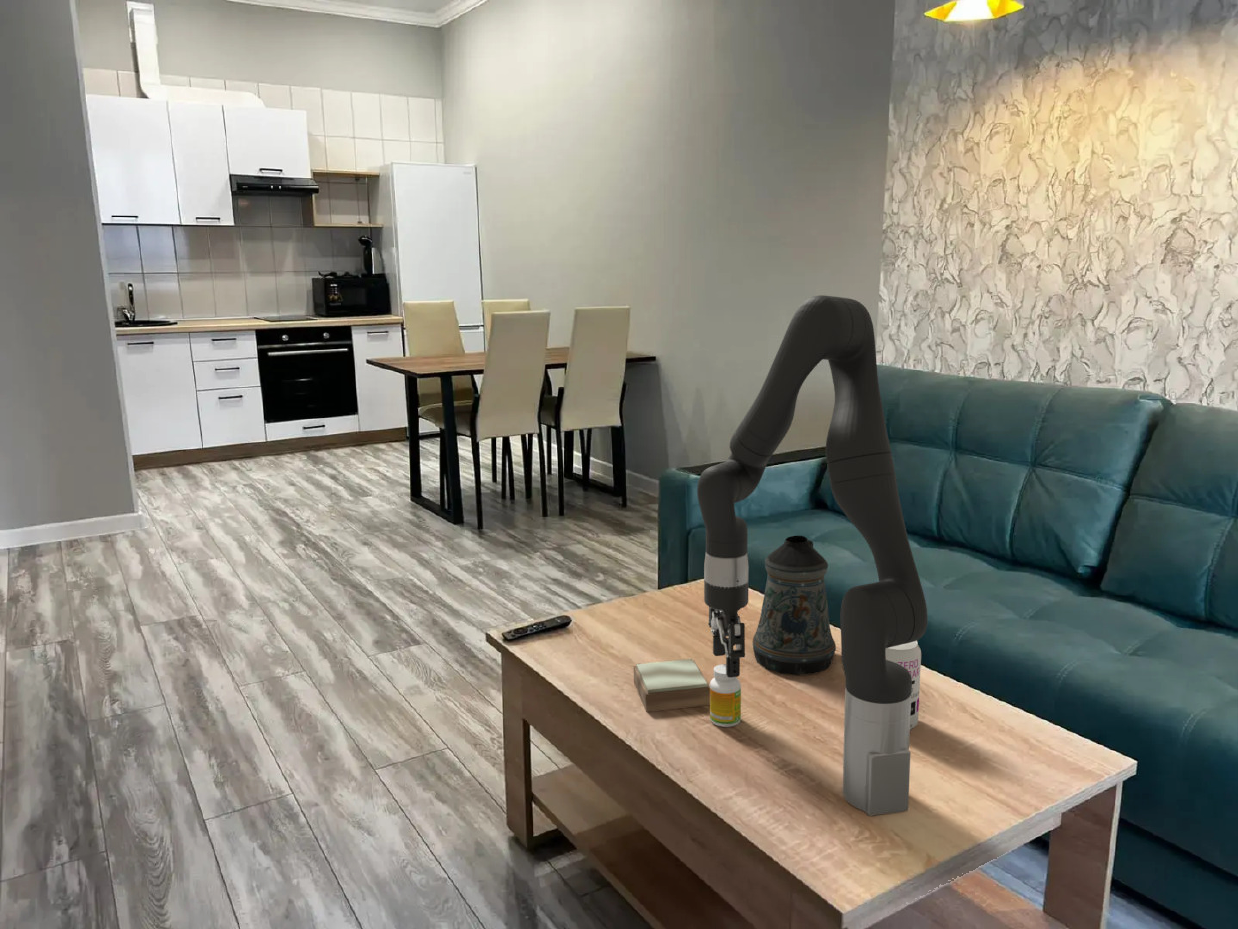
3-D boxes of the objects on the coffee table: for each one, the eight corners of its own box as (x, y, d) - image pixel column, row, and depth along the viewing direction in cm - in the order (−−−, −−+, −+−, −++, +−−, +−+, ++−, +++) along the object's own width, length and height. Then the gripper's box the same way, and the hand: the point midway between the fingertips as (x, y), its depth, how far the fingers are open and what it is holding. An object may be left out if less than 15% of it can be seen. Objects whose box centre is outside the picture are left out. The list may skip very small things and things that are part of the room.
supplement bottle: (739, 729, 151) (739, 676, 149) (708, 726, 152) (708, 674, 150) (741, 714, 156) (741, 663, 154) (711, 712, 158) (711, 661, 156)
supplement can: (883, 706, 158) (885, 627, 155) (926, 721, 152) (930, 640, 149) (859, 722, 152) (861, 641, 149) (903, 739, 146) (907, 655, 143)
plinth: (710, 705, 160) (710, 684, 159) (646, 712, 158) (645, 691, 157) (694, 676, 172) (694, 657, 171) (633, 682, 170) (633, 663, 169)
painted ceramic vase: (759, 677, 171) (759, 554, 165) (745, 637, 190) (745, 525, 184) (844, 675, 170) (847, 552, 165) (822, 635, 189) (824, 523, 184)
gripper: (760, 590, 143) (759, 682, 147) (735, 562, 157) (735, 646, 160) (715, 594, 142) (715, 686, 145) (694, 565, 156) (695, 650, 159)
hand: (725, 665), depth 153 cm, fingers open, 8 cm apart
